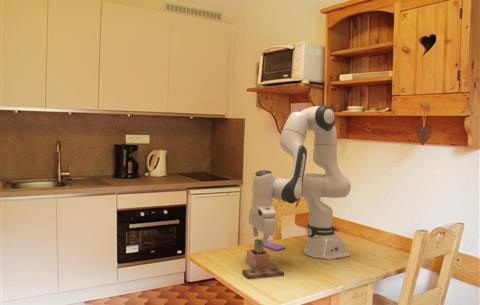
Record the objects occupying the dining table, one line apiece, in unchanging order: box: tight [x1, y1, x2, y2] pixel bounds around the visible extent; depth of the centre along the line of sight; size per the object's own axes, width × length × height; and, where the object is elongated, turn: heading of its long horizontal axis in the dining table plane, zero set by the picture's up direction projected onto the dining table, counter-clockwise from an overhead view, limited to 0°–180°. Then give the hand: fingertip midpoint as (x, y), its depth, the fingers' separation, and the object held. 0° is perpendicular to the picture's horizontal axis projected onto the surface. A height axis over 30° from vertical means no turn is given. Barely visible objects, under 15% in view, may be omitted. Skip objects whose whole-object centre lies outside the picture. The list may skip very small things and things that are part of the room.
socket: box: [245, 248, 271, 269], centre depth 175 cm, size 8×8×6 cm
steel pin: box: [253, 238, 264, 255], centre depth 175 cm, size 4×4×10 cm
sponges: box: [263, 240, 287, 253], centre depth 202 cm, size 7×13×2 cm, turn 44°
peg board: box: [241, 258, 285, 280], centre depth 164 cm, size 16×6×6 cm, turn 111°
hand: (260, 239), depth 174 cm, fingers open, 8 cm apart
